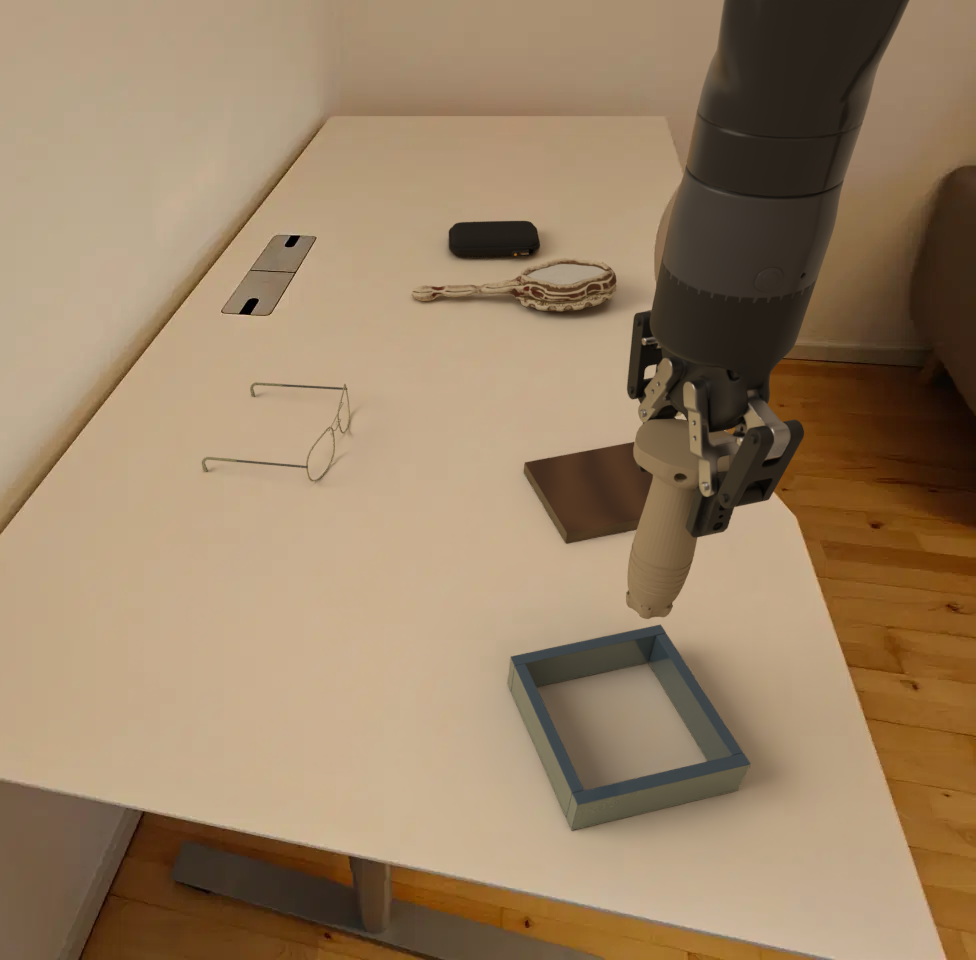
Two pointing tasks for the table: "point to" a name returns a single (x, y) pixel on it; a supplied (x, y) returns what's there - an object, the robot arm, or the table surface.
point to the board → (591, 491)
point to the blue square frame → (642, 792)
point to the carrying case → (493, 239)
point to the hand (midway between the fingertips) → (676, 496)
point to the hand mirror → (543, 286)
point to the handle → (664, 516)
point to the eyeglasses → (312, 446)
